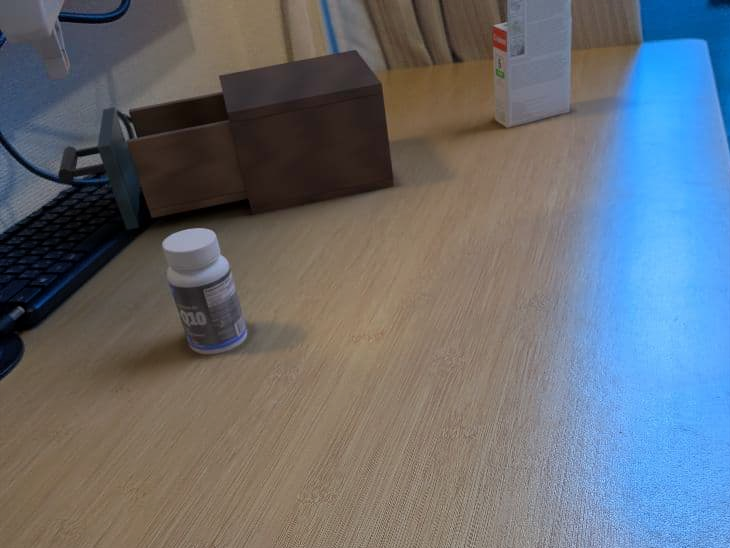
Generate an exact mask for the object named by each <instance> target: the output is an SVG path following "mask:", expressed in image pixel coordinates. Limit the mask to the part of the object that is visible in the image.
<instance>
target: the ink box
mask: <svg viewBox="0 0 730 548" xmlns="http://www.w3.org/2000/svg"><path fill="white" fill-rule="evenodd" d="M505 2H506V22H502V23H497V24H493V25H492V56H493V57H492V58H493V99H494V100H493V101H494V121H495V122H497V123H498V124H500V125H501V126H503V127H504V128H506V129H509V128H513V127H517V126H521V125H524V124H528V123H532V122H533V123H534V122H537V121H540V120H544V119H548V118H552V117H556V116H560V115H563V114H569V113H570V108H571V107H570V104H571V103H570V101H571V100H570V99H571V61H572V60H571V59H572V57H571V54H572V20H573V19H572V18H573V17H572V0H506V1H505Z"/></svg>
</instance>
